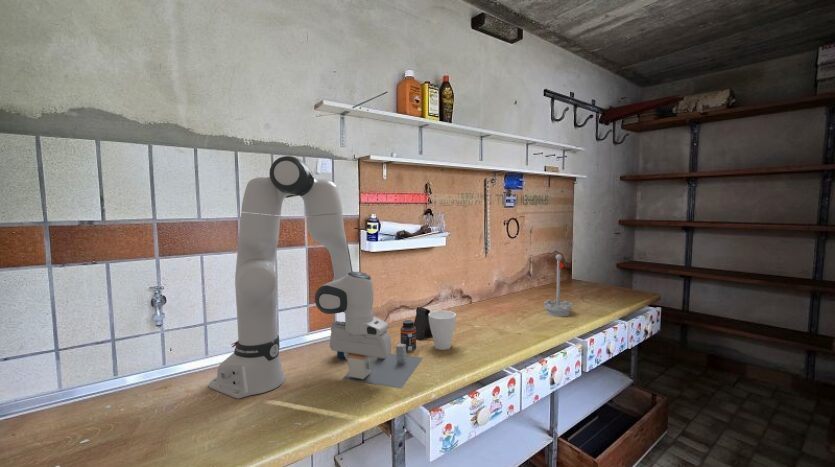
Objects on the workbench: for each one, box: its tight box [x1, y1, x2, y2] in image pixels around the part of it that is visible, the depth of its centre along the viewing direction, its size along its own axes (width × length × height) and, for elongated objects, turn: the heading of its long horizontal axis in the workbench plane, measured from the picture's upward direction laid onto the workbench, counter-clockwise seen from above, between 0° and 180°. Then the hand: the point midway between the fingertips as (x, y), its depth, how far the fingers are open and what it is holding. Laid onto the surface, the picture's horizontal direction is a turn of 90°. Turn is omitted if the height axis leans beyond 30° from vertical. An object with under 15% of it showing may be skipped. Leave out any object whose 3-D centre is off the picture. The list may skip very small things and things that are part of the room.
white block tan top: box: [347, 353, 371, 379], centre depth 112 cm, size 5×5×7 cm
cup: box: [428, 309, 457, 351], centre depth 135 cm, size 10×10×14 cm
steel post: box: [395, 343, 407, 365], centre depth 121 cm, size 3×3×6 cm
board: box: [341, 353, 424, 389], centre depth 118 cm, size 20×22×1 cm
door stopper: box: [413, 306, 433, 341], centre depth 149 cm, size 9×6×12 cm, turn 126°
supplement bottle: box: [400, 319, 417, 352], centre depth 134 cm, size 6×6×11 cm
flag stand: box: [543, 253, 573, 318], centre depth 177 cm, size 13×13×30 cm
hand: (359, 366), depth 112 cm, fingers closed on white block tan top, 5 cm apart
